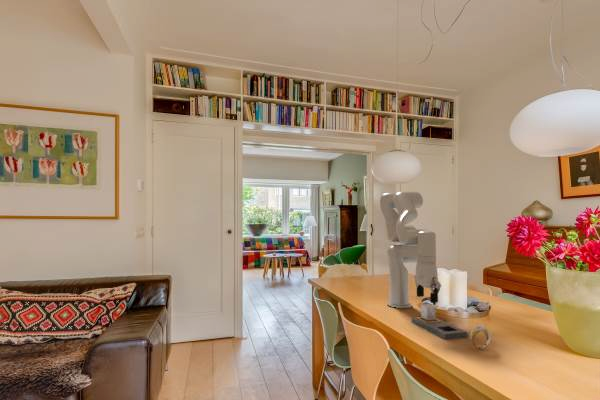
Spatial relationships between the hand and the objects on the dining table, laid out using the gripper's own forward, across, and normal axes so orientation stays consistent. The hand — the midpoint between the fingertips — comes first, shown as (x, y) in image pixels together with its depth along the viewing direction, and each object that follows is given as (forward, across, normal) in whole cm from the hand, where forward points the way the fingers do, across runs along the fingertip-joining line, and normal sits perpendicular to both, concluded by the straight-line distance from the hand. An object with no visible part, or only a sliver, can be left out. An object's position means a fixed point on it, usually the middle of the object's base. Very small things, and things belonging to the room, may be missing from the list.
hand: (427, 299), depth 145 cm
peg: (+11, +1, 0) cm, 11 cm away
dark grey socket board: (+10, +7, 0) cm, 13 cm away
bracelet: (+10, +29, +1) cm, 31 cm away
